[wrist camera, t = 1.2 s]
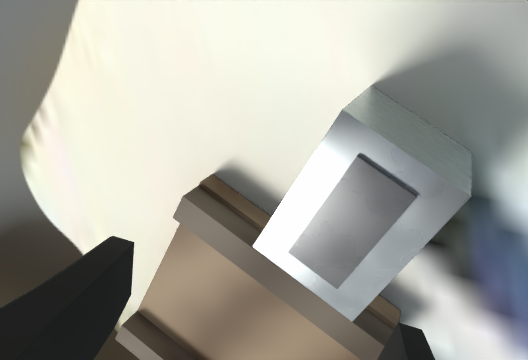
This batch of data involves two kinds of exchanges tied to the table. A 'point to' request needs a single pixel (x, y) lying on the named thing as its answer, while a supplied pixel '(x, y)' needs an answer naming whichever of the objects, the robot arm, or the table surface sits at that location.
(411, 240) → the block
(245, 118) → the table surface
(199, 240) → the board
